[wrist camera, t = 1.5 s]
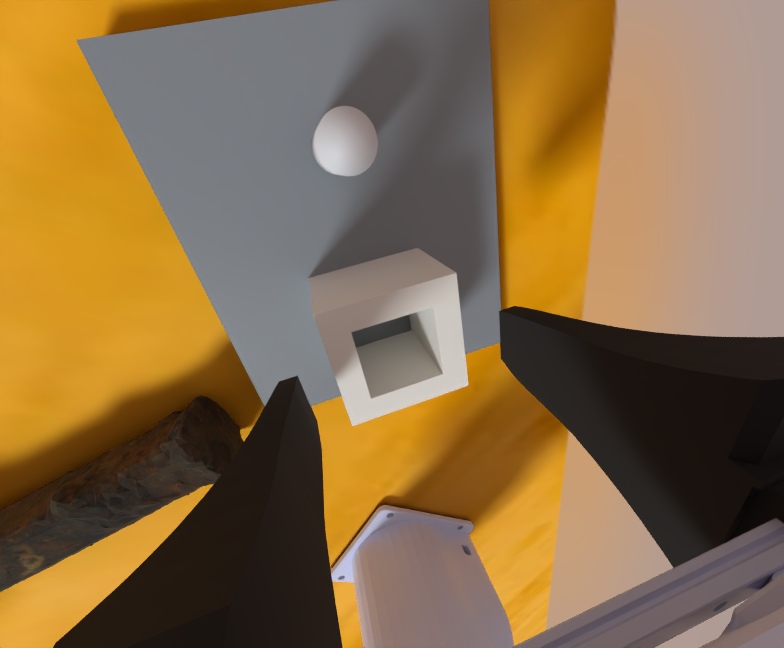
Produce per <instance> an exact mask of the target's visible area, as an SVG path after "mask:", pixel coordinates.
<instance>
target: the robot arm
mask: <svg viewBox="0 0 784 648" xmlns="http://www.w3.org/2000/svg"><path fill="white" fill-rule="evenodd" d="M499 322H500V347H501V359H502V360H503V362H504V363H505V364H506V366H507V367H508V368H509V370H510V371H511V372H512V373H513V375H514V376H515V377H516V378H517V380H518V381H519V382H520V383H521V384H522V385H523V386H524V387H525V388H526V389H527V390H528V391H529V392H530V393H531V394H532V395H534V396H535V397H536V398H537V399H538V400H539V401H540V402H541V403H542V404H543V405H544V406H545V407H546V408H547V409H548V410H549V411H550V412H551V413H552V414H553V415H554V416H555V417H556V418H557V419H558V420H559V421H560V422H562V423H563V424H564V426H565V427H566V428H567V429H568V430H569V431H570V432H571V433H572V434H573V435H574V436H575V437H576V439H577V440H578V441H579V442H580V443H581V444H582V446H583V447H584V448H585V449H586V450H587V452H588V453H589V454H590V455H591V456H592V457H593V459H594V460H595V461H596V462H597V464H598V465H599V466H600V467H601V469H602V470H603V471H604V472H605V474H606V475H607V476H608V477H609V479H610V480H611V481H612V482H613V484H614V485H615V486H616V488H617V489H618V490H619V491H620V493H621V494H622V496H623V497H624V498H625V499H626V501H627V502H628V504H629V505H630V506H631V508H632V509H633V510H634V512H635V513H636V514H637V516H638V517H639V518H640V520H641V521H642V522H643V524H644V525H645V527H646V528H647V530H648V531H649V532H650V534H651V535H652V537H653V538H654V539H655V541H656V543H657V544H658V545H659V547H660V548H661V550H662V551H663V552H664V554H665V556H666V557H667V558H668V560H669V561H670V563H671V565H672V566H673V569H671V570H669V571H667V572H665V573H663V574H660V575H659V576H656V577H654V578H652V579H650V580H648V581H646V582H644V583H642V584H640V585H638V586H636V587H634V588H632V589H630V590H628V591H626V592H624V593H622V594H620V595H618V596H616V597H613V598H612V599H609V600H607V601H606V602H603V603H601V604H599V605H597V606H595V607H593V608H591V609H589V610H587V611H585V612H583V613H581V614H579V615H577V616H575V617H573V618H571V619H569V620H567V621H564V622H562V623H560V624H558V625H556V626H554V627H552V628H550V629H548V630H546V631H544V632H542V633H540V634H538V635H536V636H534V637H532V638H530V639H528V640H526V641H524V642H522V643H520V644H518V645H515V646H514V644H513V636H512V631H511V627H510V624H509V620H508V617H507V615H506V612H505V610H504V608H503V606H502V604H501V602H500V599H499V597H498V595H497V593H496V591H495V589H494V587H493V585H492V583H491V581H490V578H489V576H488V574H487V572H486V570H485V568H484V566H483V564H482V562H481V560H480V557H479V555H478V553H477V551H476V549H475V547H474V545H473V543H472V541H471V539H470V537H469V534H470V533H471V532H472V530H473V529H474V525H473V523H472V522H471V521H467V520H462V519H456V518H451V517H446V516H441V515H436V514H430V513H425V512H420V511H415V510H410V509H404V508H399V507H394V506H389V505H382V506H380V507H379V508H378V509H377V510H376V511H375V513H374V514H373V515H372V517H371V518H370V519H369V521H368V522H367V523H366V525H365V526H364V527H363V528H362V530H361V531H360V532H359V534H358V535H357V536H356V538H355V539H354V540H353V542H352V543H351V544H350V546H349V547H348V548H347V549H346V551H345V552H344V553H343V555H342V556H341V557H340V559H339V560H338V561H337V563H336V564H335V565H334V567H333V568H332V569H331V570H330V563H329V555H328V548H327V540H326V533H325V520H324V497H323V469H322V448H321V442H320V435H319V430H318V424H317V420H316V418H315V415H314V413H313V411H312V408H311V406H310V404H309V401H308V399H307V396H306V394H305V392H304V389H303V387H302V385H301V382H300V380H299V378H298V376H295V377H291V378H288V379H285V380H282V381H279V382H278V384H277V386H276V387H275V389H274V391H273V393H272V395H271V396H270V398H269V400H268V402H267V404H266V406H265V407H264V409H263V411H262V413H261V415H260V416H259V418H258V420H257V422H256V423H255V425H254V427H253V429H252V430H251V432H250V434H249V435H248V437H247V438H246V440H245V441H244V443H243V444H242V446H241V448H240V449H239V451H238V452H237V454H236V455H235V457H234V458H233V460H232V461H231V462H230V464H229V465H228V467H227V468H226V469H225V471H224V472H223V473H222V475H221V476H220V477H219V478H218V480H217V481H216V482H215V484H214V485H213V486H212V487H211V489H210V490H209V491H208V492H207V494H206V495H205V496H204V497H203V498H202V499H201V501H200V502H199V503H198V504H197V505H196V506H195V507H194V509H193V510H192V511H191V512H190V513H189V514H188V515H187V517H186V518H185V519H184V520H183V521H182V522H181V523H180V525H179V526H178V527H177V528H176V529H175V530H174V531H173V532H172V533H171V534H170V535H169V537H168V538H167V539H166V540H165V541H164V542H163V543H162V544H161V545H160V546H159V547H158V548H157V549H156V550H155V551H154V552H153V553H152V554H151V555H150V556H149V557H148V558H147V559H146V560H145V561H144V562H143V563H142V564H141V565H140V566H139V567H138V568H137V569H136V570H135V571H134V572H133V573H132V574H131V575H130V576H129V577H128V578H127V579H126V580H125V581H124V582H123V583H121V584H120V585H119V586H118V587H117V588H116V589H115V590H114V591H113V592H112V593H111V594H110V595H108V596H107V597H106V598H105V599H104V600H103V601H102V602H101V603H100V604H99V605H97V606H96V607H95V608H94V609H93V610H92V611H91V612H90V613H89V614H88V615H86V616H85V617H84V618H83V619H82V620H81V621H80V622H79V623H78V624H77V625H75V626H74V627H73V628H72V629H71V630H70V631H69V632H68V633H67V634H65V635H64V636H63V637H62V638H61V639H60V640H59V641H57V642H56V643H55V645H54V647H53V648H342V642H341V635H340V629H339V623H338V617H337V610H336V604H335V597H334V590H333V583H332V581H339V582H354V586H355V593H356V600H357V607H358V614H359V621H360V628H361V634H362V641H363V648H655V647H656V646H658V645H660V644H662V643H664V642H666V641H668V640H670V639H672V638H673V637H675V636H677V635H679V634H681V633H683V632H685V631H687V630H688V629H690V628H692V627H694V626H696V625H698V624H700V623H702V622H704V621H706V620H708V619H709V618H711V617H713V616H715V615H717V614H719V613H721V612H723V611H725V610H726V609H728V608H730V607H732V606H734V605H736V604H738V603H740V602H742V601H744V600H745V599H747V598H748V599H747V600H746V601H744V602H743V603H742V604H740V605H739V606H738V607H736V608H735V609H734V612H733V615H732V618H731V621H730V623H729V624H728V626H727V627H726V628H725V630H724V631H723V633H722V634H721V636H720V637H719V638H717V639H715V640H713V641H711V642H709V643H707V644H705V645H703V646H701V647H699V648H784V337H761V338H760V337H711V336H709V337H708V336H692V335H678V334H665V333H655V332H647V331H639V330H632V329H625V328H618V327H612V326H607V325H601V324H596V323H591V322H587V321H582V320H577V319H573V318H568V317H564V316H560V315H555V314H551V313H547V312H543V311H538V310H534V309H529V308H524V307H517V306H513V307H510V308H507V309H504V310H501V311H499ZM749 597H750V598H749Z"/></svg>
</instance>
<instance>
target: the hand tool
mask: <svg viewBox="0 0 784 648" xmlns="http://www.w3.org/2000/svg"><path fill="white" fill-rule="evenodd" d="M243 443H244V442H243V440H242V438H241V435H240V429H239V427H238V425H237V424H235V423H234V422H233V421H232V420H231V419H230V417H229V415H228V414H227V412H226V411H225V410H223V409H222V408H221V407H220V406H219V405H218V404H217V403H215V402H213V401H212V400H210V399H209V398H207V397H202V396H199V397H197V398H195V399H194V400H192V402H191V403H190V404H189V406H188V408H187V409H186V410H183V411H182V412H173V413H172V414H170V415H169V416H168V418H166V419H164V420H161V421H159V423H158V425H157V426H156V428H154V429H152V430H150V431H149V432H147V433H145V434H144V435H142V436H140V437H138V438H136V439H134V440H132V441H129V442H127V443H124V444H122V445H120V446H118V447H116V448H114V449H113V450H111V451H109V452H106V453H104V454H103V455H101V456H100V457H99V458H97V459H96V460H94V461H93V462H91V463H89V464H87V465H86V466H84V467H82V468H79V469H77V470H74V471H68V472H67V473H66V474H65V475H64V476H62V477H61V478H59V479H57V480H55V481H54V482H52V483H50V484H48V485H46V486H45V487H42V488H40V489H38V490H36V491H34V492H33V493H31V494H30V495H28V496H26V497H24V498H22V499H21V500H19V501H17V502H15V503H13V504H11V505H9V506H7V507H5V508H3V509H1V510H0V592H1V591H3V590H5V589H7V588H9V587H11V586H13V585H14V584H16V583H18V582H21V581H23V580H25V579H27V578H29V577H31V576H33V575H35V574H37V573H39V572H41V571H43V570H45V569H47V568H49V567H51V566H53V565H55V564H56V563H58V562H60V561H61V560H63V559H65V558H67V557H69V556H71V555H73V554H76V553H77V552H79V551H81V550H83V549H84V548H86V547H88V546H92V545H93V544H94V543H96V542H97V541H99V540H101V539H103V538H106V537H108V536H109V535H111V534H113V533H115V532H117V531H119V530H120V529H122V528H125V527H126V526H129V525H131V524H133V523H135V522H136V521H138V520H140V519H141V518H143V517H145V516H147V515H149V514H151V513H153V512H155V511H157V510H158V509H160V508H161V507H163V506H165V505H168V504H169V503H171V502H172V501H174V500H176V499H179V498H181V497H183V496H185V495H189V494H190V493H192V492H194V491H195V490H197V489H198V488H200V487H202V486H206V485H209V484H215V482H216V481H217V480H218V478H219V477H220V476H221V475H222V473H223V472H224V471H225V469H226V468H227V467H228V465H229V464H230V462H231V461H232V460H233V458H234V457H235V455H236V454H237V452H238V451H239V449H240V448H241V446H242V444H243Z"/></svg>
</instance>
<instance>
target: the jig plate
mask: <svg viewBox="0 0 784 648" xmlns="http://www.w3.org/2000/svg"><path fill="white" fill-rule="evenodd" d="M76 41H77V43H78V45H79V47H80V49H81V51H82V52H83V54H84V56H85V58H86V60H87V62H88V64H89V66H90V68H91V70H92V72H93V74H94V76H95V78H96V80H97V82H98V84H99V86H100V87H101V89H102V91H103V93H104V95H105V97H106V99H107V101H108V103H109V105H110V107H111V109H112V111H113V113H114V115H115V117H116V119H117V121H118V123H119V124H120V126H121V128H122V130H123V132H124V134H125V136H126V138H127V140H128V142H129V144H130V146H131V148H132V150H133V152H134V154H135V156H136V158H137V159H138V161H139V163H140V165H141V167H142V169H143V171H144V173H145V175H146V177H147V179H148V181H149V183H150V185H151V187H152V189H153V191H154V193H155V195H156V196H157V198H158V200H159V202H160V204H161V206H162V208H163V210H164V212H165V214H166V216H167V218H168V220H169V222H170V224H171V226H172V228H173V230H174V231H175V233H176V235H177V237H178V239H179V241H180V243H181V245H182V247H183V249H184V251H185V253H186V255H187V257H188V259H189V261H190V263H191V265H192V266H193V268H194V270H195V272H196V274H197V276H198V278H199V280H200V282H201V284H202V286H203V288H204V290H205V292H206V294H207V296H208V298H209V300H210V302H211V303H212V305H213V307H214V309H215V311H216V313H217V315H218V317H219V319H220V321H221V323H222V325H223V327H224V329H225V331H226V333H227V335H228V337H229V338H230V340H231V342H232V344H233V346H234V348H235V350H236V352H237V354H238V356H239V358H240V360H241V362H242V364H243V366H244V368H245V370H246V372H247V374H248V375H249V377H250V379H251V381H252V383H253V385H254V387H255V389H256V391H257V393H258V395H259V397H260V399H261V401H262V403H263V405H264V407H265V406H266V404H267V402H268V400H269V398H270V396H271V395H272V393H273V391H274V389H275V387H276V386H277V384H278V382H279V381H282V380H285V379H288V378H291V377H295V376H298V378H299V380H300V382H301V385H302V387H303V389H304V392H305V394H306V396H307V399H308V401H309V404H310V406H312V405H315V404H318V403H321V402H324V401H327V400H330V399H333V398H336V397H339V396H342V395H341V392H340V390H339V387H338V384H337V381H336V378H335V375H334V373H333V370H332V367H331V364H330V361H329V359H328V356H327V353H326V350H325V347H324V344H323V342H322V339H321V336H320V333H319V330H318V327H317V325H316V322H315V319H314V316H313V310H312V303H311V295H310V288H309V280H308V278H310V277H314V276H317V275H321V274H325V273H328V272H332V271H335V270H339V269H343V268H346V267H350V266H354V265H357V264H361V263H364V262H368V261H372V260H375V259H379V258H382V257H386V256H390V255H393V254H397V253H400V252H404V251H408V250H411V249H415V248H419V249H420V250H422V251H423V252H425V253H427V254H428V255H430V256H431V257H433V258H434V259H436V260H437V261H439V262H440V263H442V264H444V265H445V266H447V267H448V268H450V269H451V270H453V271H454V272H456V273H457V283H458V292H459V301H460V311H461V320H462V329H463V339H464V348H465V354H467V353H470V352H473V351H476V350H479V349H482V348H485V347H488V346H491V345H494V344H497V343H500V322H499V311H501V300H500V274H499V249H498V224H497V199H496V173H495V148H494V123H493V98H492V72H491V47H490V22H489V0H336V1H329V2H323V3H316V4H310V5H303V6H297V7H290V8H284V9H277V10H271V11H264V12H257V13H251V14H244V15H238V16H231V17H225V18H218V19H212V20H205V21H199V22H192V23H185V24H179V25H172V26H166V27H159V28H153V29H146V30H140V31H133V32H126V33H120V34H113V35H107V36H100V37H94V38H87V39H81V40H76ZM410 330H411V325H410V320H409V315H406V316H403V317H399V318H396V319H393V320H390V321H386V322H383V323H380V324H377V325H373V326H370V327H367V328H364V329H360V330H357V331H354V332H351V333H352V337H353V340H354V343H355V347H359V346H363V345H366V344H369V343H372V342H375V341H378V340H382V339H385V338H388V337H391V336H394V335H397V334H401V333H404V332H407V331H410Z"/></svg>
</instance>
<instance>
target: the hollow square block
mask: <svg viewBox="0 0 784 648" xmlns="http://www.w3.org/2000/svg"><path fill="white" fill-rule="evenodd" d="M308 280H309V288H310V295H311V303H312V310H313V316H314V319H315V322H316V325H317V327H318V330H319V333H320V336H321V339H322V342H323V344H324V347H325V350H326V353H327V356H328V359H329V361H330V364H331V367H332V370H333V373H334V375H335V378H336V381H337V384H338V387H339V390H340V392H341V395H342V398H343V401H344V404H345V407H346V409H347V412H348V415H349V418H350V421H351V423H352V426H354V425H357V424H360V423H363V422H366V421H369V420H372V419H374V418H377V417H380V416H383V415H386V414H389V413H391V412H394V411H397V410H400V409H403V408H406V407H408V406H411V405H414V404H417V403H420V402H423V401H426V400H428V399H431V398H434V397H437V396H440V395H443V394H445V393H448V392H451V391H454V390H457V389H460V388H462V387H465V386H468V376H467V367H466V358H465V348H464V339H463V329H462V320H461V311H460V301H459V292H458V283H457V273H456V272H454V271H453V270H451V269H450V268H448V267H447V266H445V265H444V264H442V263H440V262H439V261H437V260H436V259H434V258H433V257H431V256H430V255H428V254H427V253H425V252H423V251H422V250H420V249H419V248H415V249H411V250H408V251H404V252H400V253H397V254H393V255H390V256H386V257H382V258H379V259H375V260H372V261H368V262H364V263H361V264H357V265H354V266H350V267H346V268H343V269H339V270H335V271H332V272H328V273H325V274H321V275H317V276H314V277H310V278H308ZM406 315H409V320H410V325H411V330H410V331H407V332H404V333H401V334H397V335H394V336H391V337H388V338H385V339H382V340H378V341H375V342H372V343H369V344H366V345H363V346H359V347H355V343H354V340H353V337H352V333H351V332H354V331H357V330H360V329H364V328H367V327H370V326H373V325H377V324H380V323H383V322H386V321H390V320H393V319H396V318H399V317H403V316H406Z"/></svg>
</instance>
